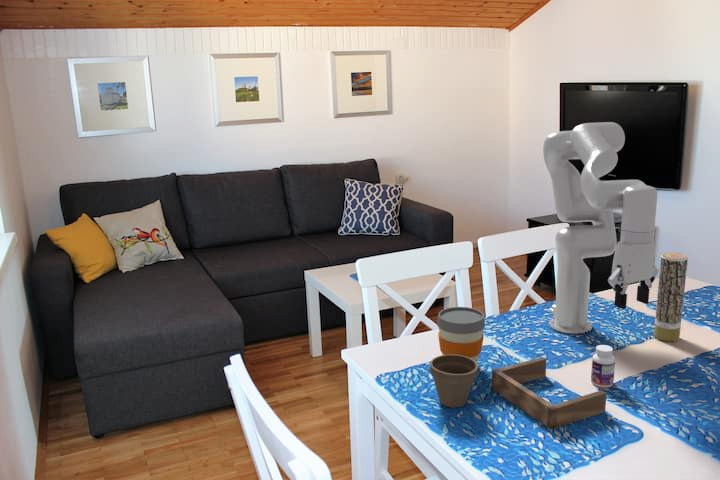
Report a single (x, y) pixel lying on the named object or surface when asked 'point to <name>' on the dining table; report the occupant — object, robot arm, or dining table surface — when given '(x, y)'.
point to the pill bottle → (603, 367)
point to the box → (546, 413)
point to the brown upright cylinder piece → (670, 296)
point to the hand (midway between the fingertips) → (631, 304)
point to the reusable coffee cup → (461, 331)
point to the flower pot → (453, 378)
